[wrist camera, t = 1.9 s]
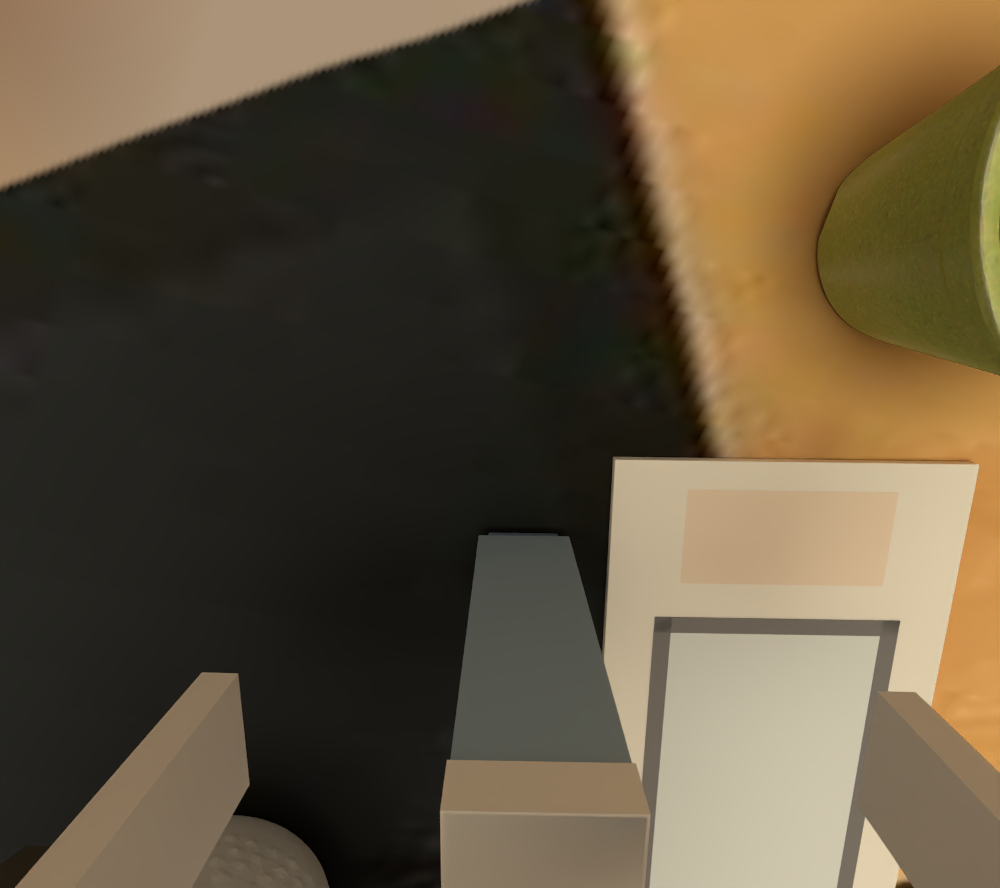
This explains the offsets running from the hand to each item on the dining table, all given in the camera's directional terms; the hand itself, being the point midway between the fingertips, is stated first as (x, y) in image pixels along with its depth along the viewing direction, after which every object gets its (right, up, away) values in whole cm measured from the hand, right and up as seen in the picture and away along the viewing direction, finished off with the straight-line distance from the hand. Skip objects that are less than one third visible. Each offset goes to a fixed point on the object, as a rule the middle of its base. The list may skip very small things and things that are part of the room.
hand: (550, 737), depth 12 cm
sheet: (+9, -6, +10) cm, 15 cm away
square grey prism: (0, +2, +8) cm, 9 cm away
